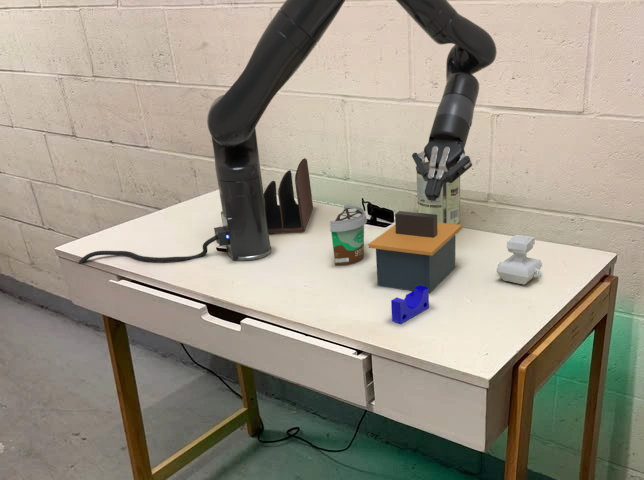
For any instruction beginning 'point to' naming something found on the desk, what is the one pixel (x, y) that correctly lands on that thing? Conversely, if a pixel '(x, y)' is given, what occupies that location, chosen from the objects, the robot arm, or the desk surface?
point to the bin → (414, 267)
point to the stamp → (519, 261)
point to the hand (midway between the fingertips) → (430, 198)
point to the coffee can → (440, 200)
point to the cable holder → (410, 304)
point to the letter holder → (289, 202)
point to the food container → (348, 235)
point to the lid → (415, 234)
